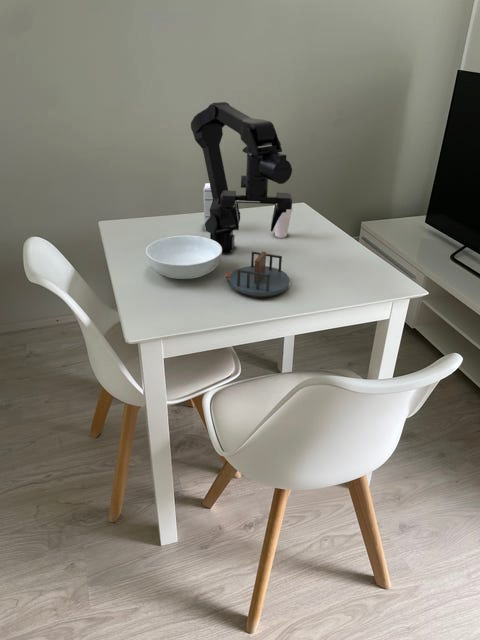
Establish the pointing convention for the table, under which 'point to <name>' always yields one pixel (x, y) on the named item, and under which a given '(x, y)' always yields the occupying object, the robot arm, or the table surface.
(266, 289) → the drying rack
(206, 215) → the syrup box
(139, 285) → the table surface
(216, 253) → the serving bowl
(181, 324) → the table surface
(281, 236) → the smoothie
